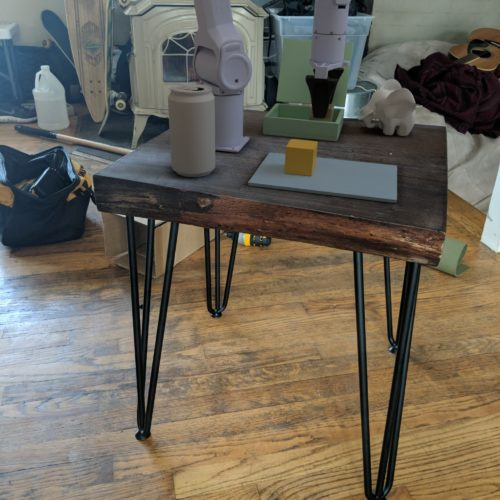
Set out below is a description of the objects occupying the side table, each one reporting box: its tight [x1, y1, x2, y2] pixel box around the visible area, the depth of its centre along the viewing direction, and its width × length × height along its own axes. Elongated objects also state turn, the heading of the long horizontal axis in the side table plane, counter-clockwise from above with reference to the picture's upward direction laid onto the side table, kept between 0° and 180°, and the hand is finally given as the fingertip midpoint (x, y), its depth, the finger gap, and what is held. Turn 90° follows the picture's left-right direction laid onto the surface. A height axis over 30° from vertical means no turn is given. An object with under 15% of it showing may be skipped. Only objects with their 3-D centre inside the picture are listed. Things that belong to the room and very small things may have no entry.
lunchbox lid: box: [276, 38, 355, 108], centre depth 101 cm, size 12×13×3 cm
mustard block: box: [284, 138, 319, 176], centre depth 75 cm, size 4×4×4 cm
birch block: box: [309, 104, 335, 122], centre depth 95 cm, size 4×4×4 cm
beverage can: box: [167, 83, 216, 178], centre depth 73 cm, size 6×6×12 cm
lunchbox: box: [262, 102, 345, 142], centre depth 96 cm, size 11×13×3 cm
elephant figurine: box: [354, 78, 423, 137], centre depth 95 cm, size 10×12×9 cm
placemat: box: [247, 151, 398, 204], centre depth 75 cm, size 20×14×1 cm
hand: (322, 112), depth 95 cm, fingers open, 7 cm apart
